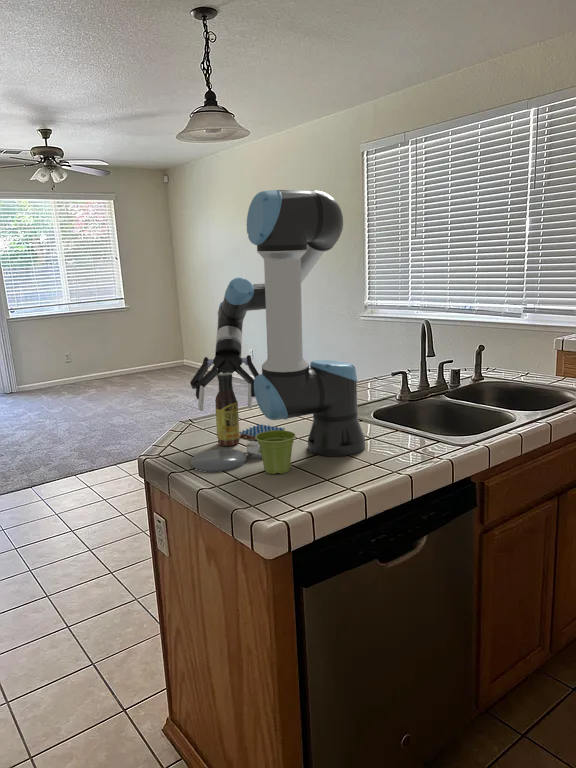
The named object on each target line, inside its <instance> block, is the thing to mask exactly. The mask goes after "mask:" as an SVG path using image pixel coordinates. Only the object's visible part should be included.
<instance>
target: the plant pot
mask: <svg viewBox="0 0 576 768" xmlns="http://www.w3.org/2000/svg"><path fill="white" fill-rule="evenodd" d="M295 438H296V433H295V432H293V431H291V430H290V431H289V430H285V429H284V430H273V431H266V432H262V433H259V434H258V435H256V440H255V441H258V444H259V446H260V450H261V454H262V459H261V460H262V464H263V468H264V471H265V473H268V474H270V475H275V474H285V473H287V472H289V471H290V470H291V461H292V451H293V444H294V441H295V440H294V439H295Z"/></svg>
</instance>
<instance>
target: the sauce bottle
mask: <svg viewBox="0 0 576 768" xmlns="http://www.w3.org/2000/svg"><path fill="white" fill-rule="evenodd" d="M233 378H234V377H233V373H220V374H218V376H217V380H218V392H217V394H216V396H215V401H214V402H215V422H216V437H217V444H218V445H219V446H221V447H232V446H236V445H238V444H239V442H240V438H241V437H240V433H239V432H240V421H239V420H240V419H239V416H240V415H239V403H238V400H237V397H236V395H235V393H234V392H235V391H234V389H233V388H234V387H233Z"/></svg>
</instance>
